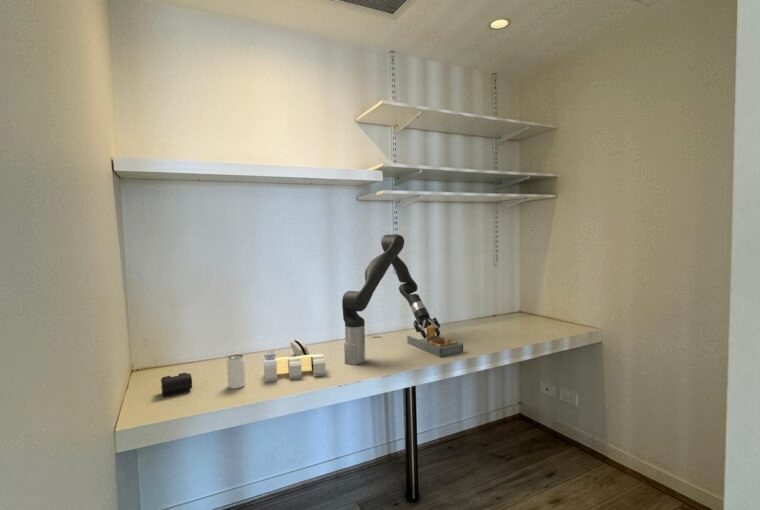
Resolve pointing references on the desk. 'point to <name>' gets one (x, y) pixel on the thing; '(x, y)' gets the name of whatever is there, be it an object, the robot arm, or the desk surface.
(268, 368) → the diorama
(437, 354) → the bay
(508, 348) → the desk surface
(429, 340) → the crate
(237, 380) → the can
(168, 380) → the end cap
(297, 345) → the hinge
